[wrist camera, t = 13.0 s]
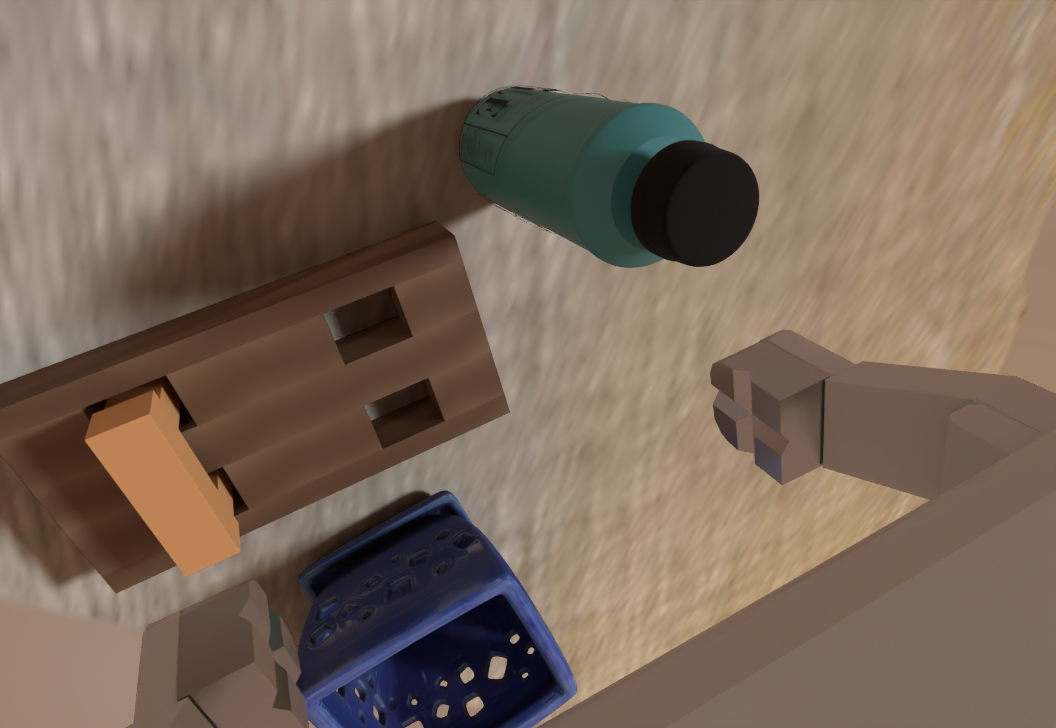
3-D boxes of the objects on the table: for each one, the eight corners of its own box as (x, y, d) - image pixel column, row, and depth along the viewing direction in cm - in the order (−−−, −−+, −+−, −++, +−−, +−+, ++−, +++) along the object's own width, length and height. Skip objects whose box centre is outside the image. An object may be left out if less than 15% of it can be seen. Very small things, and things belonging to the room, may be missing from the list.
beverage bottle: (498, 223, 40) (698, 346, 24) (421, 141, 37) (594, 219, 20) (572, 143, 40) (825, 212, 24) (502, 53, 37) (744, 60, 20)
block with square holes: (-8, 387, 33) (-29, 420, 30) (436, 221, 39) (454, 235, 36) (122, 552, 39) (116, 593, 36) (490, 388, 45) (509, 412, 42)
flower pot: (365, 668, 51) (403, 820, 41) (271, 559, 44) (289, 710, 34) (515, 573, 53) (586, 695, 43) (449, 455, 46) (515, 568, 36)
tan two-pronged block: (235, 478, 40) (240, 551, 35) (189, 499, 40) (185, 577, 34) (159, 353, 36) (149, 413, 30) (105, 374, 35) (84, 440, 29)
